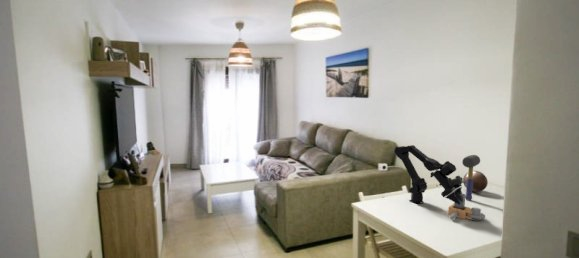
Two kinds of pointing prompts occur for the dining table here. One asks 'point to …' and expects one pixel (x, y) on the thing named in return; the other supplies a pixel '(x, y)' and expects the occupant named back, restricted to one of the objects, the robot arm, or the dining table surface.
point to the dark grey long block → (462, 200)
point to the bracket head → (466, 213)
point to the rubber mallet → (470, 173)
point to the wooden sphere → (477, 181)
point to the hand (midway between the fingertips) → (462, 202)
